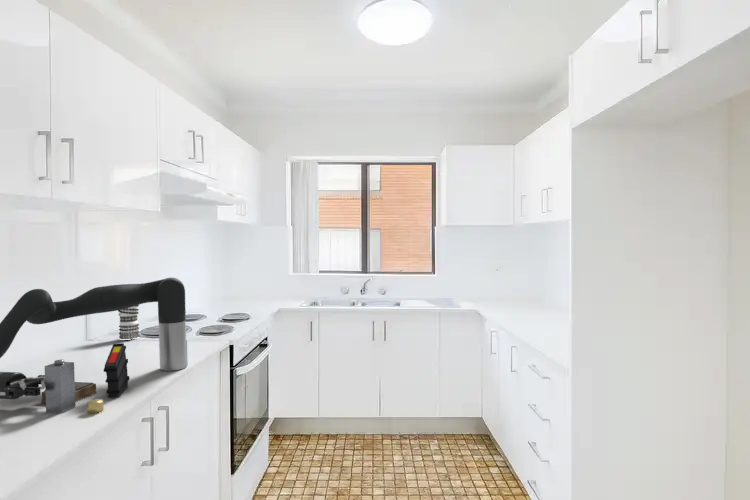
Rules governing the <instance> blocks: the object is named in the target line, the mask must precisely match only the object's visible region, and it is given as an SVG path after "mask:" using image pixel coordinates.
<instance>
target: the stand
mask: <svg viewBox="0 0 750 500" xmlns="http://www.w3.org/2000/svg"><path fill="white" fill-rule="evenodd" d="M92 394H93V395H95V394H97V383H94V382H88V381H85V382H82V381H75V403H76V401H77V402H79V401H82V400H84V399H86V398H88V397H90V395H91V396H92ZM87 396H88V397H87ZM85 397H86V398H85ZM83 398H84V399H83ZM78 400H79V401H78ZM41 403H46V392H45V390H44V391H42V392H41Z"/></svg>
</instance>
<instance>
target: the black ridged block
mask: <svg viewBox="0 0 750 500" xmlns="http://www.w3.org/2000/svg"><path fill="white" fill-rule="evenodd" d="M126 349H127V345H125V344H124V343H112V346H111V348H110V351H109V354H108V356H107V358H106V361H105V362H104V363H105V364H104V368H103V373H106V374H105V375H106V379H105V381H104V382H105V383H106V384H107V390H106V391H105V395H107V398H108V399H115V398H116V397H117V398H120V396H121V395H122V394H123V393H124V392H125V391H126V390H127V389H128V388H129V380H130V375H128V363H129V360H128V358H127V354H126Z"/></svg>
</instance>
